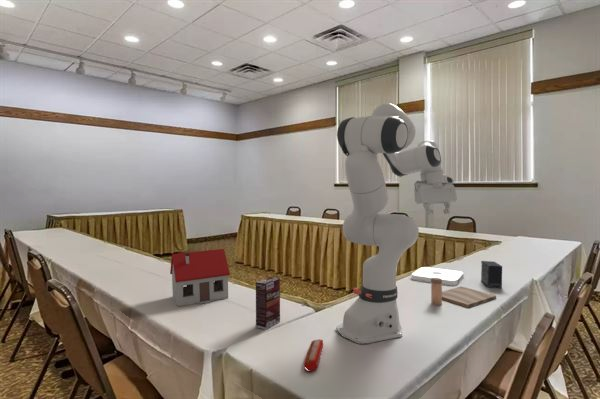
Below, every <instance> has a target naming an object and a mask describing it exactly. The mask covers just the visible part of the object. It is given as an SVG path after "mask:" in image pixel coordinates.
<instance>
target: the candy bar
mask: <svg viewBox="0 0 600 399" xmlns="http://www.w3.org/2000/svg"><path fill="white" fill-rule="evenodd" d="M323 341H324V340H323V339H319V338H318V339H314V340H312V341H311V343H310V345H309V348H308V350H307V354H306V355H305V359H304V363H303V367H306V368H307V369H308V370H311V371H315V370H317V369H318V367H319V364H320V361H319V360H320V359H321V357H320V356H322V353H321V352H323V350H322V349H323V348H324V342H323ZM318 363H319V364H318ZM317 366H318V367H317ZM316 368H317V369H316Z"/></svg>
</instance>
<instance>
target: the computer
mask: <svg viewBox="0 0 600 399" xmlns="http://www.w3.org/2000/svg"><path fill="white" fill-rule="evenodd" d="M431 278H440V279H442V285H445V286H457V285H458V284H459V283H460V282H461V281H462V280H463V278H464V272H463V271H460V270H454V269H446V268H445V269H444V268H437V267H432V266H431V267H429V266H421V267H419V268H418V269H417V270H415V271H413V272H412V273H411V280H413V281H418V282H419V281H420V282H426V283H431ZM461 279H462V280H461Z"/></svg>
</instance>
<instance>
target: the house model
mask: <svg viewBox="0 0 600 399" xmlns="http://www.w3.org/2000/svg"><path fill="white" fill-rule="evenodd" d="M169 270H170V272H169V273H170V275H171V281H172V283H171V284H172V298H173V300H174V302H175V305H177V307H182V306H188V305H194V304H204V303H205V304H206V303H212V302H213V301H217V300H222V299H229V276H230V274H231V272H230V269H229V264H228V260H227V257H226V252H225V248H219V249H209V250H198V251H189V252H188V251H187V252H177V253H172V254H171V262H170V269H169Z"/></svg>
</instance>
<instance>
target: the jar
mask: <svg viewBox="0 0 600 399" xmlns="http://www.w3.org/2000/svg"><path fill="white" fill-rule="evenodd" d="M430 284H431V285H430V288H431V290H430V291H431V294H430V295H431V296H430V300H431V301H430V302H431V304H432V305H434V306H442V305H443V300H442V292H443V284H442V279H440V278H431V282H430Z"/></svg>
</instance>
